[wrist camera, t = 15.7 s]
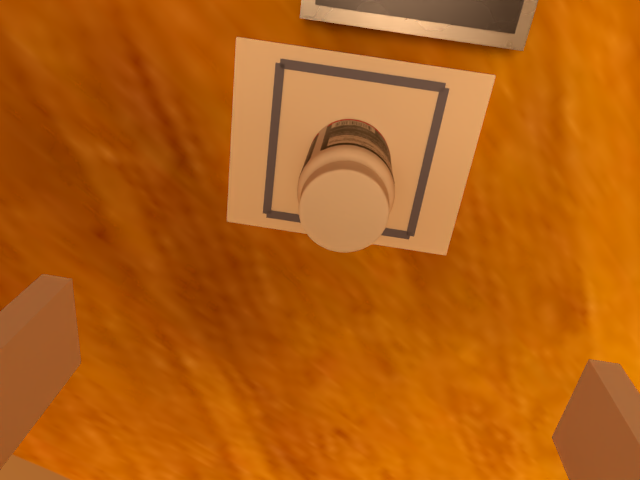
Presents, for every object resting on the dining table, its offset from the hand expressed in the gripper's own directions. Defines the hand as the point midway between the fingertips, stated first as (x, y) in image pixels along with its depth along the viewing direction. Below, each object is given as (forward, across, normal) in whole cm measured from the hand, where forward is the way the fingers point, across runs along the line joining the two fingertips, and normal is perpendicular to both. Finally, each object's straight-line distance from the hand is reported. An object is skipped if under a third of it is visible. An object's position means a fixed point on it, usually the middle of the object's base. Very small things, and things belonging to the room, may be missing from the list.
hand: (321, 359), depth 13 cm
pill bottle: (+19, 0, 0) cm, 19 cm away
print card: (+19, 0, 0) cm, 19 cm away
